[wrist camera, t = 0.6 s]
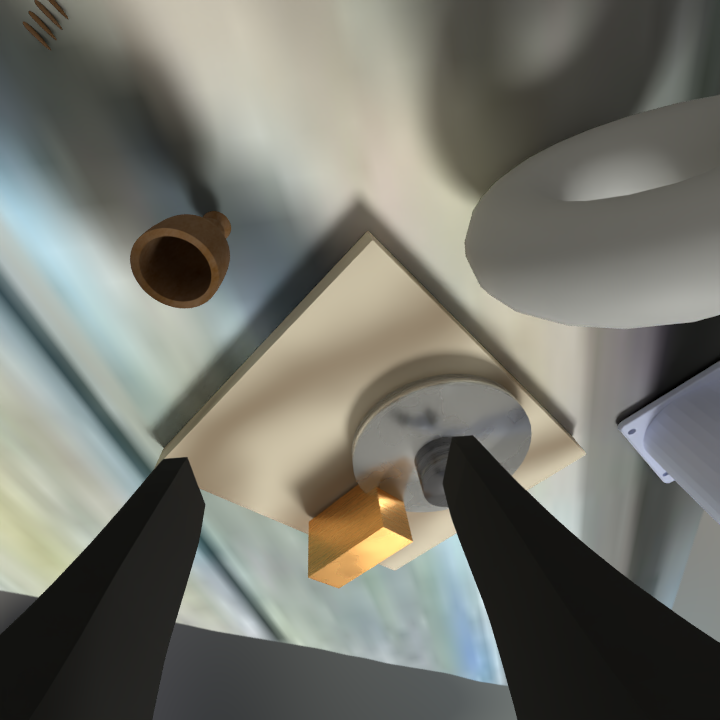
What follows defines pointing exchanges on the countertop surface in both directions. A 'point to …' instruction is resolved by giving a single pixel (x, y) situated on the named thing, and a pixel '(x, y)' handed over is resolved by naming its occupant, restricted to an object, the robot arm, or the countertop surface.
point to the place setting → (173, 243)
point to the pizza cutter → (410, 467)
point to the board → (343, 397)
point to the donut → (609, 224)
